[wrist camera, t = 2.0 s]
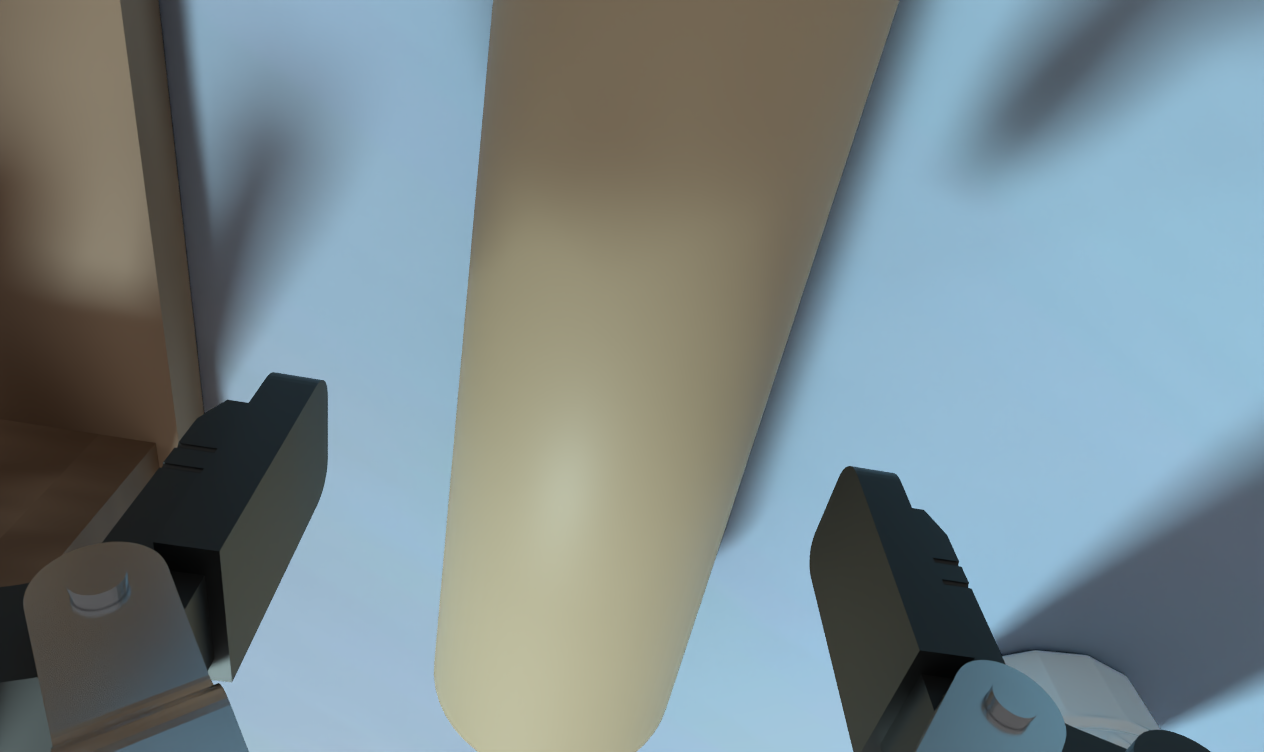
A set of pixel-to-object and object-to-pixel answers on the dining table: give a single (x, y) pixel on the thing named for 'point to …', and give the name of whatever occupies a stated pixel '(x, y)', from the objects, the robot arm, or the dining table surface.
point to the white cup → (1088, 694)
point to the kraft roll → (626, 337)
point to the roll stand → (87, 275)
